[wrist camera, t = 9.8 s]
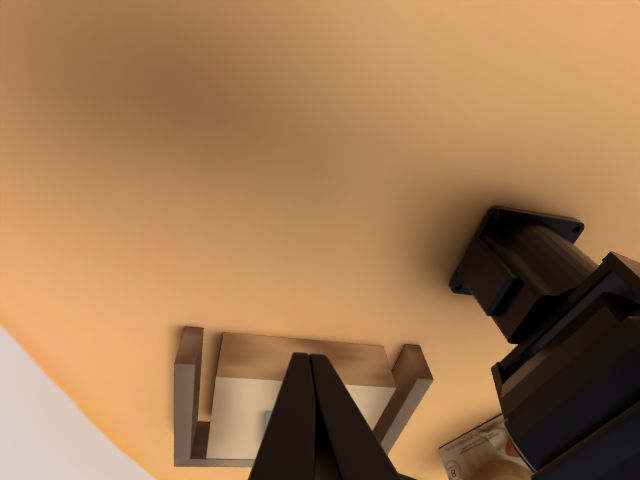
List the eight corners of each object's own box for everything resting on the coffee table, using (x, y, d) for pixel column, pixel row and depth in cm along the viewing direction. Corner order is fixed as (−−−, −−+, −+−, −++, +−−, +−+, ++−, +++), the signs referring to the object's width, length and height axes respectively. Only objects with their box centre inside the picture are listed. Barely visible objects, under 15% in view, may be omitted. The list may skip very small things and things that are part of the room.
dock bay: (419, 345, 28) (433, 379, 25) (372, 434, 34) (379, 468, 32) (185, 326, 24) (174, 363, 22) (182, 429, 31) (173, 466, 28)
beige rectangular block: (382, 341, 28) (396, 387, 24) (348, 414, 33) (355, 460, 30) (224, 327, 25) (216, 376, 22) (214, 409, 30) (206, 458, 27)
